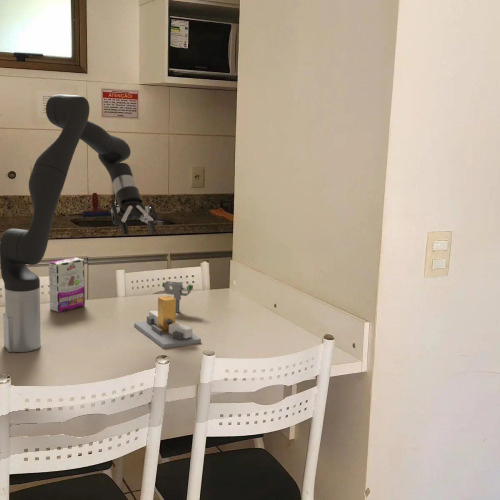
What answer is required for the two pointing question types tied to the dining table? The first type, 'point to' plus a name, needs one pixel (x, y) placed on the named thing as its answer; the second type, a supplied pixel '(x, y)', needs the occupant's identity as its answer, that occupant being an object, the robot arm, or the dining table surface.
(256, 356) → the dining table surface
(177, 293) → the mechanical component
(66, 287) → the candy bar box
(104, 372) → the dining table surface
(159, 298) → the block
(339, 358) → the dining table surface
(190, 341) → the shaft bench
